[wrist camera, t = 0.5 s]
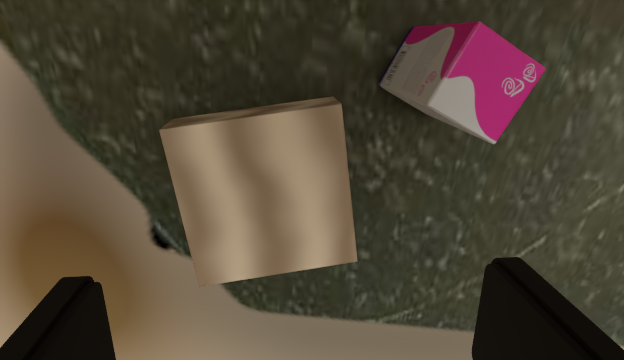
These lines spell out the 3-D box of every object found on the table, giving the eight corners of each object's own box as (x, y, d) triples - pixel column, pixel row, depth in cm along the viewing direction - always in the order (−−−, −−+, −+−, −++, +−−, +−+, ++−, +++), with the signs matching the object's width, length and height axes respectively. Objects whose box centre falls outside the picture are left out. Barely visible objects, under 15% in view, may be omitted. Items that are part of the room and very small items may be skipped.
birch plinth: (333, 96, 36) (341, 103, 32) (348, 238, 41) (357, 261, 36) (172, 118, 35) (159, 129, 31) (206, 260, 40) (199, 286, 36)
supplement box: (430, 117, 37) (494, 148, 27) (376, 84, 36) (421, 104, 25) (467, 59, 36) (551, 68, 25) (412, 23, 35) (476, 16, 24)
